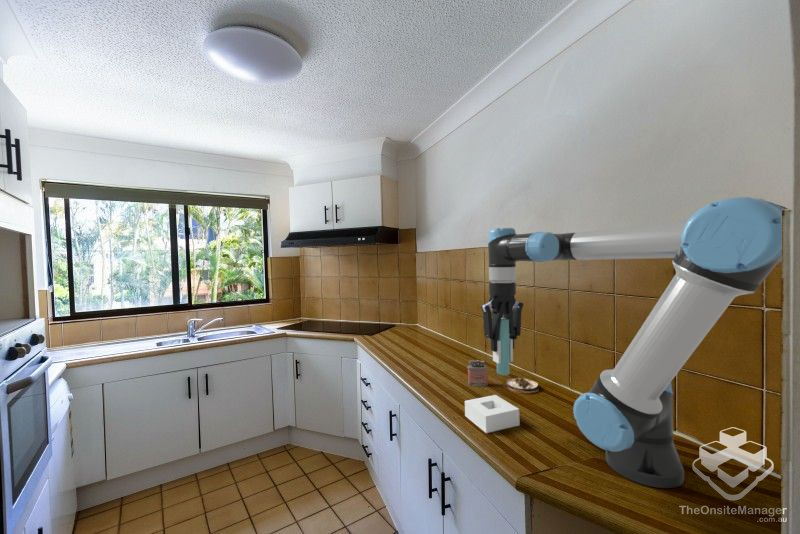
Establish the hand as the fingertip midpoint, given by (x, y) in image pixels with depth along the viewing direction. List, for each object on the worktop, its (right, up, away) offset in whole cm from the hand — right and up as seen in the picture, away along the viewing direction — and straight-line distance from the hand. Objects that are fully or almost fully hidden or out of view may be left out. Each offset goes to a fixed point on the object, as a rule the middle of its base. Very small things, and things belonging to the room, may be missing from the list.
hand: (502, 360), depth 97 cm
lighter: (+2, -21, +39) cm, 44 cm away
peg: (0, -4, 0) cm, 4 cm away
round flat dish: (+18, -21, +34) cm, 44 cm away
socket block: (-1, -21, +8) cm, 23 cm away
